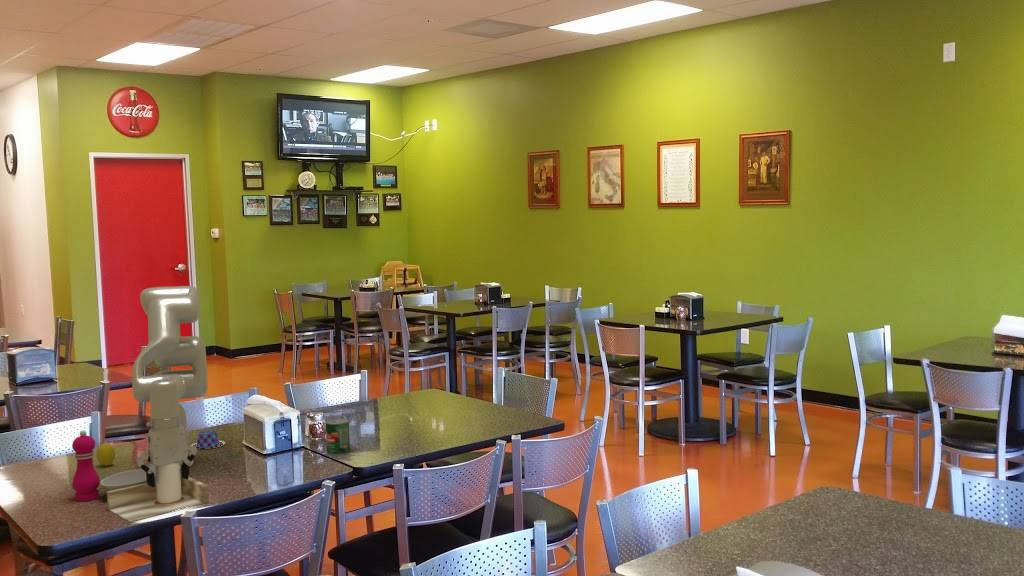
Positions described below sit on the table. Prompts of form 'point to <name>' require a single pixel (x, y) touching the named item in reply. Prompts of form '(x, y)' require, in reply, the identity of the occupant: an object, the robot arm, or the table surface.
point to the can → (168, 483)
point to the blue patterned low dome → (207, 440)
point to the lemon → (105, 454)
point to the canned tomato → (337, 436)
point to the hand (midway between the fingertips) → (168, 482)
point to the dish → (125, 479)
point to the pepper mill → (85, 469)
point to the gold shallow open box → (154, 500)
